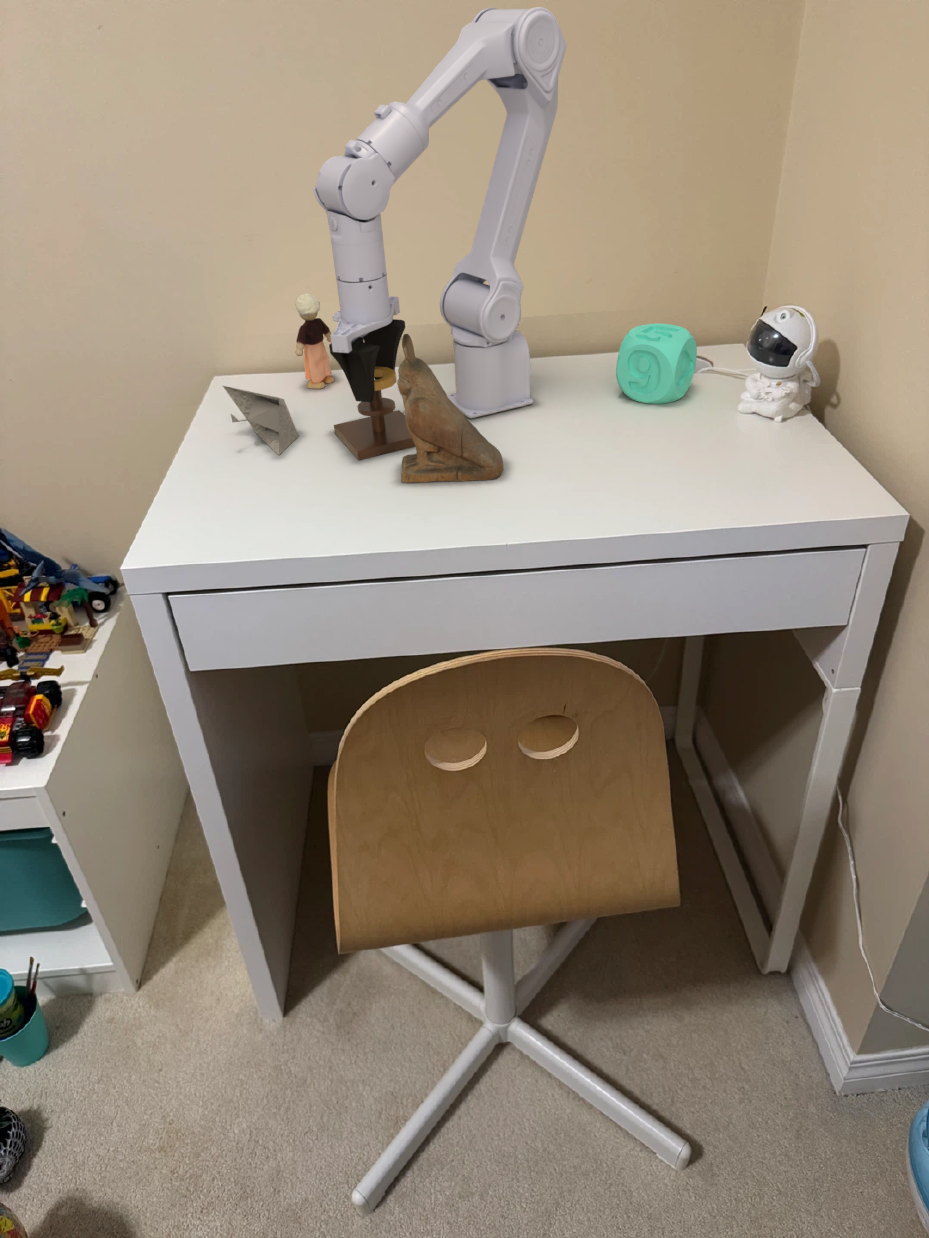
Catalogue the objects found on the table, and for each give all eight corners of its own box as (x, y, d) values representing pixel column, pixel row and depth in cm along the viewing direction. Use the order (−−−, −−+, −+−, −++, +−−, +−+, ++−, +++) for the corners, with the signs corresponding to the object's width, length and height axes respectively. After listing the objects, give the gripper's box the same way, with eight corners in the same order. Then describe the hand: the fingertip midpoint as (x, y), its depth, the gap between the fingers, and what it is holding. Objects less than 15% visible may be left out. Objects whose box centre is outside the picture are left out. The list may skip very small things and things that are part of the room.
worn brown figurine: (405, 502, 104) (353, 355, 94) (410, 479, 108) (361, 336, 98) (504, 481, 102) (462, 328, 91) (505, 459, 106) (465, 310, 96)
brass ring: (386, 371, 111) (386, 363, 111) (403, 385, 107) (402, 377, 107) (344, 380, 110) (343, 372, 109) (359, 395, 106) (358, 386, 105)
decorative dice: (694, 387, 121) (700, 327, 116) (671, 408, 116) (676, 347, 111) (638, 378, 125) (642, 320, 120) (614, 398, 119) (617, 338, 115)
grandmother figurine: (319, 373, 132) (306, 285, 125) (342, 375, 131) (330, 286, 124) (294, 393, 127) (278, 302, 119) (318, 395, 125) (304, 303, 118)
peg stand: (399, 418, 118) (395, 369, 114) (427, 443, 111) (422, 392, 107) (334, 433, 115) (327, 384, 111) (358, 460, 108) (351, 408, 104)
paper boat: (326, 429, 113) (273, 437, 106) (304, 465, 117) (251, 475, 110) (268, 363, 115) (213, 367, 108) (249, 400, 119) (194, 407, 112)
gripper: (356, 257, 108) (369, 367, 116) (299, 293, 97) (318, 411, 105) (410, 259, 106) (420, 371, 114) (358, 296, 95) (373, 417, 103)
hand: (374, 391), depth 109 cm, fingers closed on brass ring, 5 cm apart
